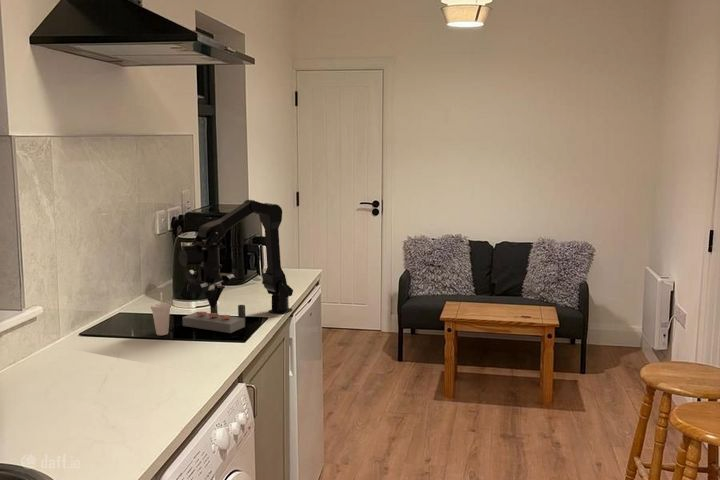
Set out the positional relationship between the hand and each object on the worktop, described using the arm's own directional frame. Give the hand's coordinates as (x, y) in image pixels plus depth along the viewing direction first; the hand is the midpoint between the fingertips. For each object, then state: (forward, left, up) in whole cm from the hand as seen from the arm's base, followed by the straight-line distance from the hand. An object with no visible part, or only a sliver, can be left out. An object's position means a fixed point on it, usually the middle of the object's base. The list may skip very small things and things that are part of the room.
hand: (212, 307), depth 241 cm
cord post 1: (-8, -6, -6) cm, 12 cm away
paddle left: (0, -5, -4) cm, 6 cm away
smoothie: (+14, -10, -7) cm, 18 cm away
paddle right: (0, +5, -4) cm, 6 cm away
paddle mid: (0, 0, -4) cm, 4 cm away
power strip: (0, 0, -6) cm, 6 cm away
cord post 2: (-8, +6, -6) cm, 12 cm away
